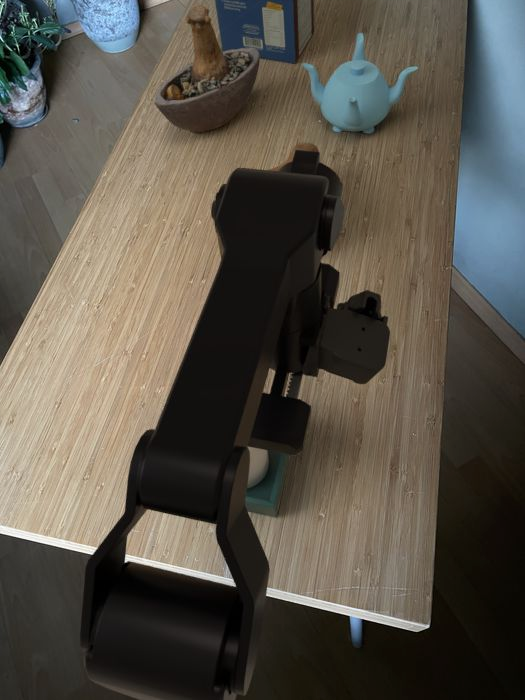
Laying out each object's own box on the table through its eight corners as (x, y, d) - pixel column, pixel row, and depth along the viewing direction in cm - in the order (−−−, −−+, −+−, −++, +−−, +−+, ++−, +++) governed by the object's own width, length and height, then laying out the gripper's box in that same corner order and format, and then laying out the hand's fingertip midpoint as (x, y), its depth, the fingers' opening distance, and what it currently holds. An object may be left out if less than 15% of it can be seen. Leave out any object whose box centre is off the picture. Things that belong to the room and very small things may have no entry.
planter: (163, 149, 100) (130, 35, 83) (186, 87, 109) (162, -29, 92) (248, 154, 98) (233, 37, 81) (265, 90, 106) (255, -28, 89)
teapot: (301, 116, 102) (299, 62, 93) (361, 84, 105) (364, 28, 96) (349, 155, 96) (351, 101, 87) (411, 120, 99) (419, 64, 90)
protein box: (241, 21, 118) (232, -65, 105) (314, 32, 114) (314, -56, 101) (220, 52, 113) (207, -35, 100) (296, 64, 109) (292, -24, 96)
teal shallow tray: (276, 517, 67) (274, 507, 63) (182, 497, 69) (175, 486, 65) (296, 427, 72) (295, 414, 69) (209, 411, 74) (203, 397, 71)
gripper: (370, 428, 41) (357, 496, 54) (401, 227, 50) (384, 328, 63) (216, 400, 43) (240, 472, 56) (273, 212, 52) (282, 312, 65)
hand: (292, 391), depth 60 cm, fingers open, 9 cm apart
